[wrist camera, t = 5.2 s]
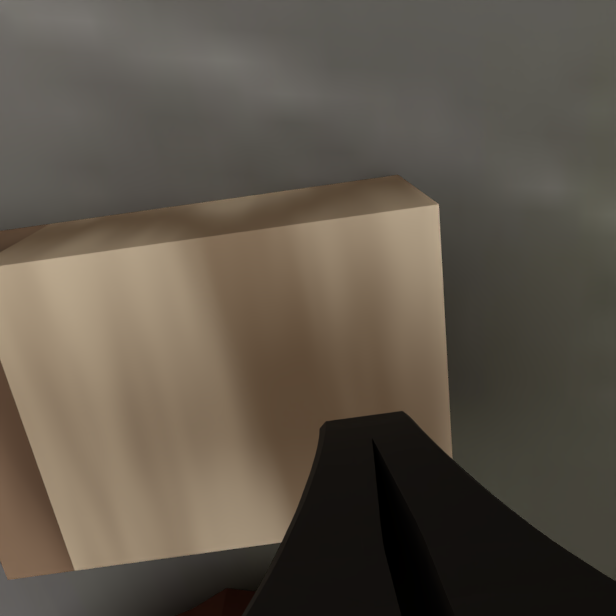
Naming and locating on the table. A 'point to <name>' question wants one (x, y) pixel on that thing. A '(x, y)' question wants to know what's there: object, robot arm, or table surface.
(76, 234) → the maple block
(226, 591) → the muffin
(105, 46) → the table surface
